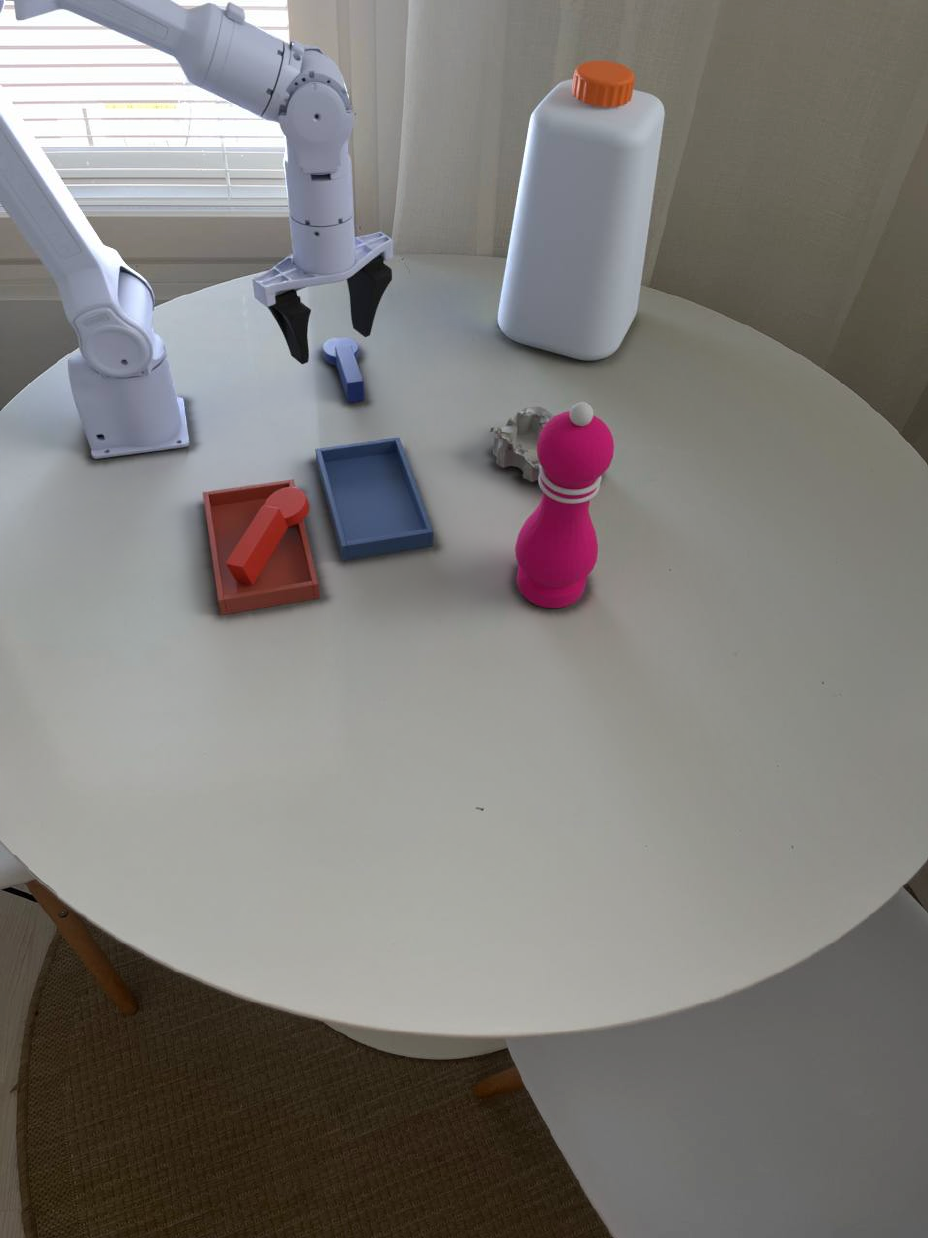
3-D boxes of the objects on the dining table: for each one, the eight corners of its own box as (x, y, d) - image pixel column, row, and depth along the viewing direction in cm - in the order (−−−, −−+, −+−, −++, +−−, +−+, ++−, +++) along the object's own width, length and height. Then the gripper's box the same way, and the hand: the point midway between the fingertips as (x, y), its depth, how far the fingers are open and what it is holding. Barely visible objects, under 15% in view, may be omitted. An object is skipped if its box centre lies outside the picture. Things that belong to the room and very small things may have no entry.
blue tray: (342, 561, 84) (341, 546, 82) (316, 463, 92) (315, 448, 91) (433, 546, 85) (433, 531, 84) (399, 451, 94) (399, 436, 92)
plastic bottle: (642, 308, 114) (697, 60, 92) (608, 373, 104) (660, 114, 83) (529, 278, 117) (557, 32, 95) (486, 339, 108) (506, 81, 86)
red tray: (221, 615, 79) (218, 600, 77) (205, 506, 87) (202, 491, 86) (320, 598, 81) (318, 583, 79) (295, 493, 89) (293, 478, 88)
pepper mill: (584, 620, 80) (627, 442, 65) (504, 605, 81) (528, 426, 66) (593, 562, 85) (635, 384, 70) (517, 548, 86) (542, 368, 70)
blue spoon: (374, 399, 99) (373, 379, 97) (338, 404, 98) (336, 384, 96) (355, 343, 106) (354, 324, 104) (320, 347, 105) (319, 327, 103)
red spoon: (263, 587, 80) (253, 569, 78) (225, 579, 81) (214, 561, 79) (316, 499, 85) (308, 479, 83) (280, 492, 87) (271, 473, 84)
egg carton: (482, 458, 94) (484, 426, 91) (525, 424, 98) (529, 393, 95) (565, 506, 90) (571, 474, 87) (607, 469, 94) (614, 437, 91)
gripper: (359, 172, 85) (364, 303, 96) (225, 216, 79) (247, 351, 89) (406, 201, 82) (406, 333, 93) (271, 250, 76) (288, 386, 86)
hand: (331, 344), depth 91 cm, fingers open, 7 cm apart
